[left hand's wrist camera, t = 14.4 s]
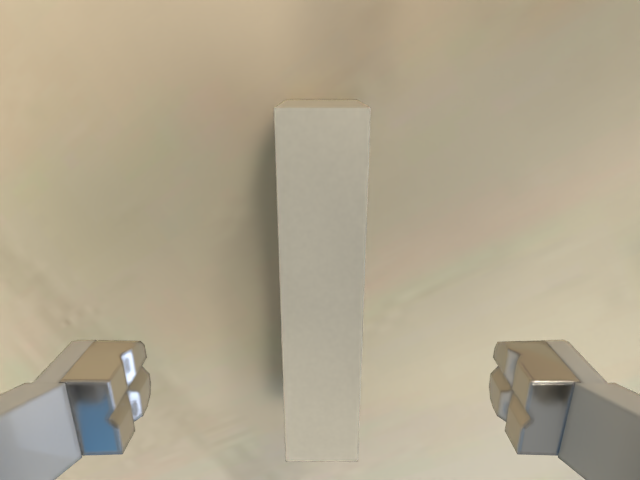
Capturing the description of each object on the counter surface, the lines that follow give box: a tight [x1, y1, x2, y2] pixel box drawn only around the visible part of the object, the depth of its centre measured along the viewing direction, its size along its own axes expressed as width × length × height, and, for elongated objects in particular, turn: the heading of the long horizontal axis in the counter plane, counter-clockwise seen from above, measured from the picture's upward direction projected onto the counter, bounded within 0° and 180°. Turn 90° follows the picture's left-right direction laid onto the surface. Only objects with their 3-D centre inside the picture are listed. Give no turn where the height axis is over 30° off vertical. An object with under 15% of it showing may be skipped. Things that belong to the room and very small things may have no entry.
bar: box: [274, 100, 371, 462], centre depth 31 cm, size 23×5×9 cm, turn 0°
